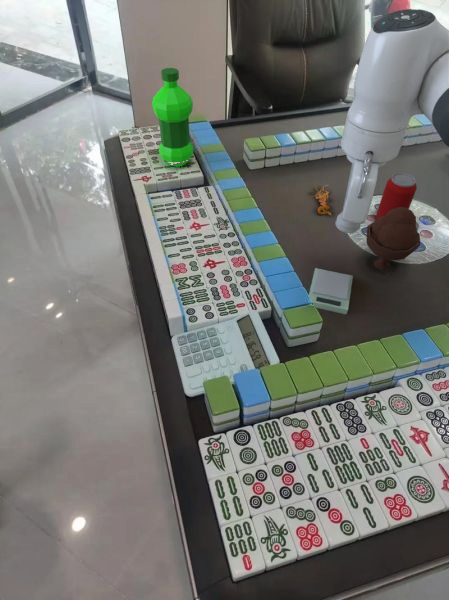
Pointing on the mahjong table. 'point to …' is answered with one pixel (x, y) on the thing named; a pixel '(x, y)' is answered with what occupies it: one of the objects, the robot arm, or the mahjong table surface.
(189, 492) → the mahjong table surface
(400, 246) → the ice cream bowl
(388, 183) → the beverage can
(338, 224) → the rook chess piece
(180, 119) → the plastic bottle
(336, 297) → the scale
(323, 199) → the dragon
